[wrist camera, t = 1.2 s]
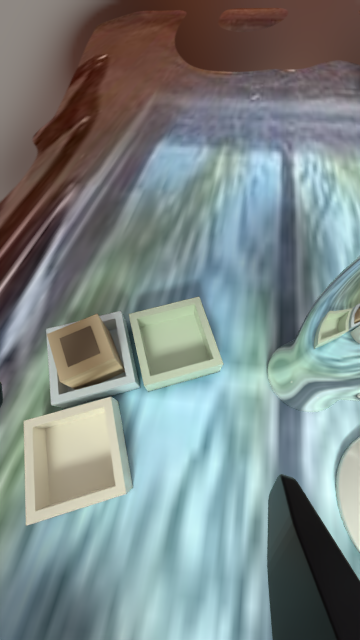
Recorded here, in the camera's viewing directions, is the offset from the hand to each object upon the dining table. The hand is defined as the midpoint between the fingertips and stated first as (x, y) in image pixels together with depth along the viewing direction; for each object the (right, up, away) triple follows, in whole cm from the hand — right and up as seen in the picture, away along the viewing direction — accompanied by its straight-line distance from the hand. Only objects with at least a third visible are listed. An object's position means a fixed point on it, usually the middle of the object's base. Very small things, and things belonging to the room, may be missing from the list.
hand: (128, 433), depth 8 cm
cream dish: (-6, -7, +12) cm, 15 cm away
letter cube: (-6, 0, +15) cm, 16 cm away
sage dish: (+1, +1, +16) cm, 16 cm away
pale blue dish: (-6, 0, +15) cm, 16 cm away
